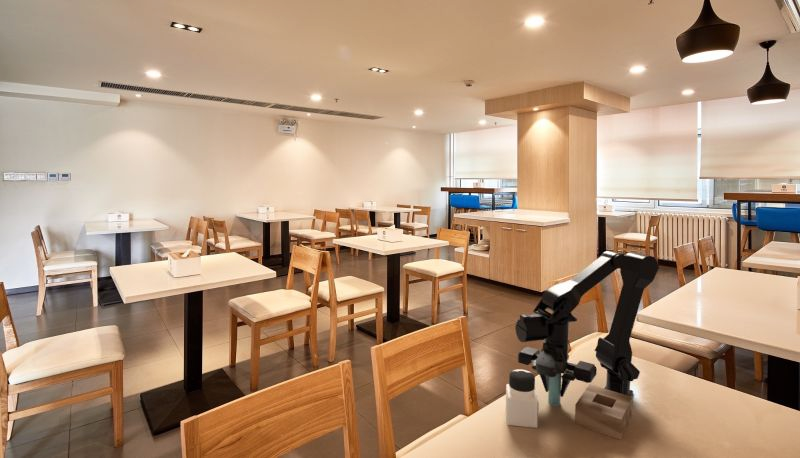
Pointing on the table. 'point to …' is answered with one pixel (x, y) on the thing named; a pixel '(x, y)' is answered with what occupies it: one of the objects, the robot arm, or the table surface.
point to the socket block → (603, 411)
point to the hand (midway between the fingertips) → (554, 393)
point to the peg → (554, 390)
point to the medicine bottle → (521, 399)
